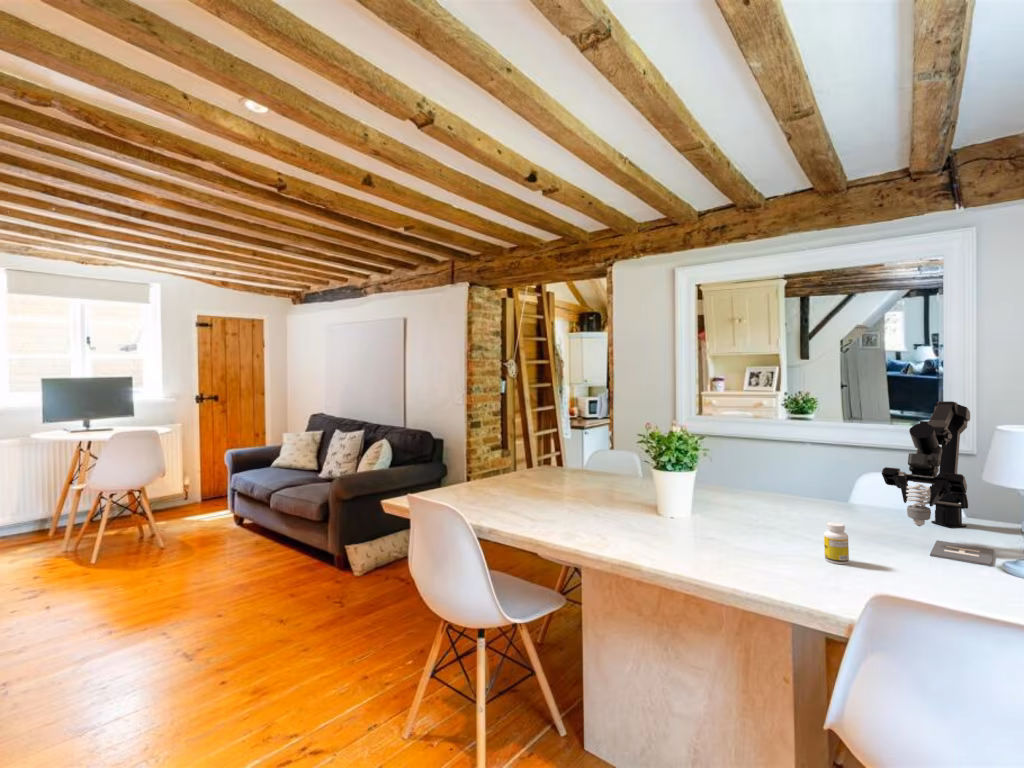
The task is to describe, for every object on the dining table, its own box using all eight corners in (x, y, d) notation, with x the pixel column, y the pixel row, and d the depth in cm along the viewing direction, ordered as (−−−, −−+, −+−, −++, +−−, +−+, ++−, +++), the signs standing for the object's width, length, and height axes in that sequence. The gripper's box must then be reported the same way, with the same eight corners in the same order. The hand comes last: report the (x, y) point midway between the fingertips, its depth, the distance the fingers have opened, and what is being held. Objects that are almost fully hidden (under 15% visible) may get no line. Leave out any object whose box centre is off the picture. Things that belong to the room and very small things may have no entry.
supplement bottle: (826, 556, 139) (825, 520, 139) (850, 560, 136) (849, 523, 136) (822, 562, 135) (822, 524, 135) (847, 566, 132) (846, 527, 132)
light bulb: (923, 530, 143) (922, 486, 143) (901, 524, 148) (901, 483, 148) (936, 527, 145) (935, 484, 145) (914, 522, 150) (914, 481, 150)
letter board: (936, 542, 150) (936, 539, 150) (993, 551, 142) (993, 548, 142) (930, 555, 138) (930, 553, 138) (991, 566, 130) (991, 563, 130)
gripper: (883, 440, 156) (871, 482, 149) (963, 445, 142) (955, 491, 135) (891, 463, 161) (880, 504, 154) (970, 470, 147) (962, 516, 140)
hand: (917, 503), depth 146 cm, fingers closed on light bulb, 5 cm apart
